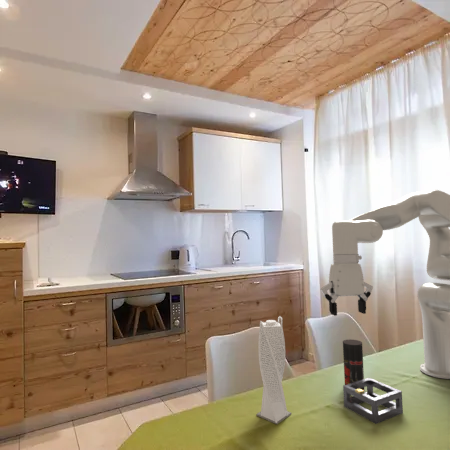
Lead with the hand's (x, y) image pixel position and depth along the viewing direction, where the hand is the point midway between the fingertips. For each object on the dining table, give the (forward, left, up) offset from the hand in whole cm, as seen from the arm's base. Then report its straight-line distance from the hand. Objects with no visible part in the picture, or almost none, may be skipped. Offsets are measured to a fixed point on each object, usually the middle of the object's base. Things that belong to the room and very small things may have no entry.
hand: (348, 313), depth 107 cm
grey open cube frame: (+2, +10, -25) cm, 27 cm away
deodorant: (-4, -2, -25) cm, 26 cm away
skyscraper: (+28, -1, -25) cm, 38 cm away
